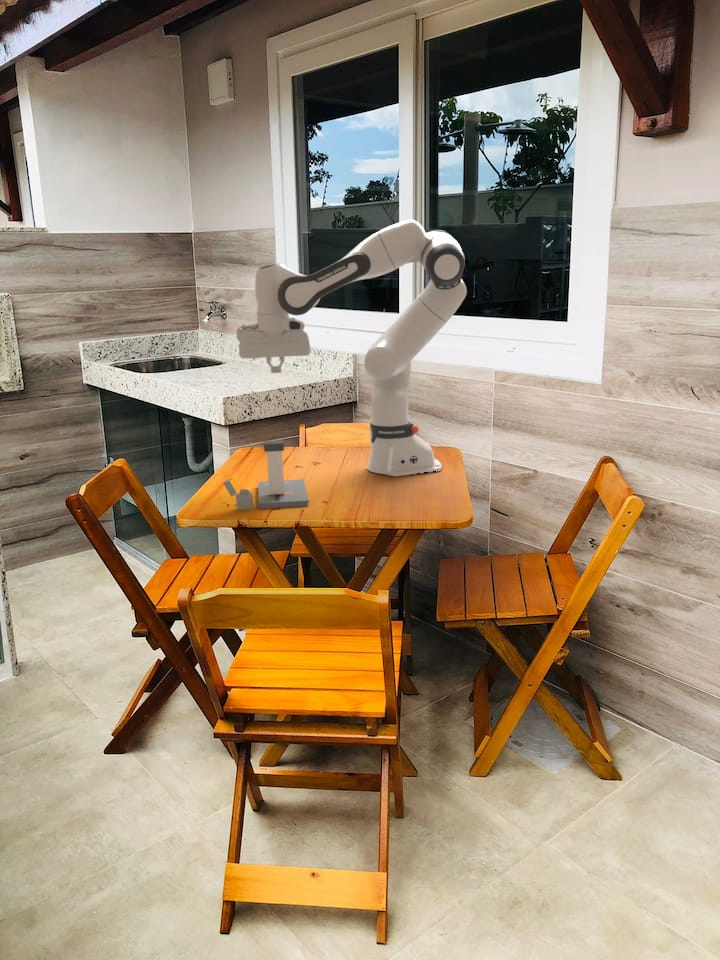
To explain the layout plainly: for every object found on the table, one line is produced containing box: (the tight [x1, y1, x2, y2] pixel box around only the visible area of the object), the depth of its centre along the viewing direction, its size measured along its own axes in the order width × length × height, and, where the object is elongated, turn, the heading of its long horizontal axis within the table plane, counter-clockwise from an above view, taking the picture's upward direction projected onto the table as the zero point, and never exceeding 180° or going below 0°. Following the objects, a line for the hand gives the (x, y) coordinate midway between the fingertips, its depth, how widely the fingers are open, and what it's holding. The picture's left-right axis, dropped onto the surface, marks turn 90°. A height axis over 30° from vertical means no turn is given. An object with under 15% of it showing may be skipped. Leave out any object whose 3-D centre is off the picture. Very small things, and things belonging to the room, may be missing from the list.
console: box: [257, 478, 309, 510], centre depth 216 cm, size 13×20×2 cm, turn 7°
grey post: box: [263, 439, 285, 495], centre depth 211 cm, size 5×4×14 cm
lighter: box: [222, 479, 254, 511], centre depth 206 cm, size 7×2×8 cm, turn 92°
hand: (276, 372), depth 226 cm, fingers closed
